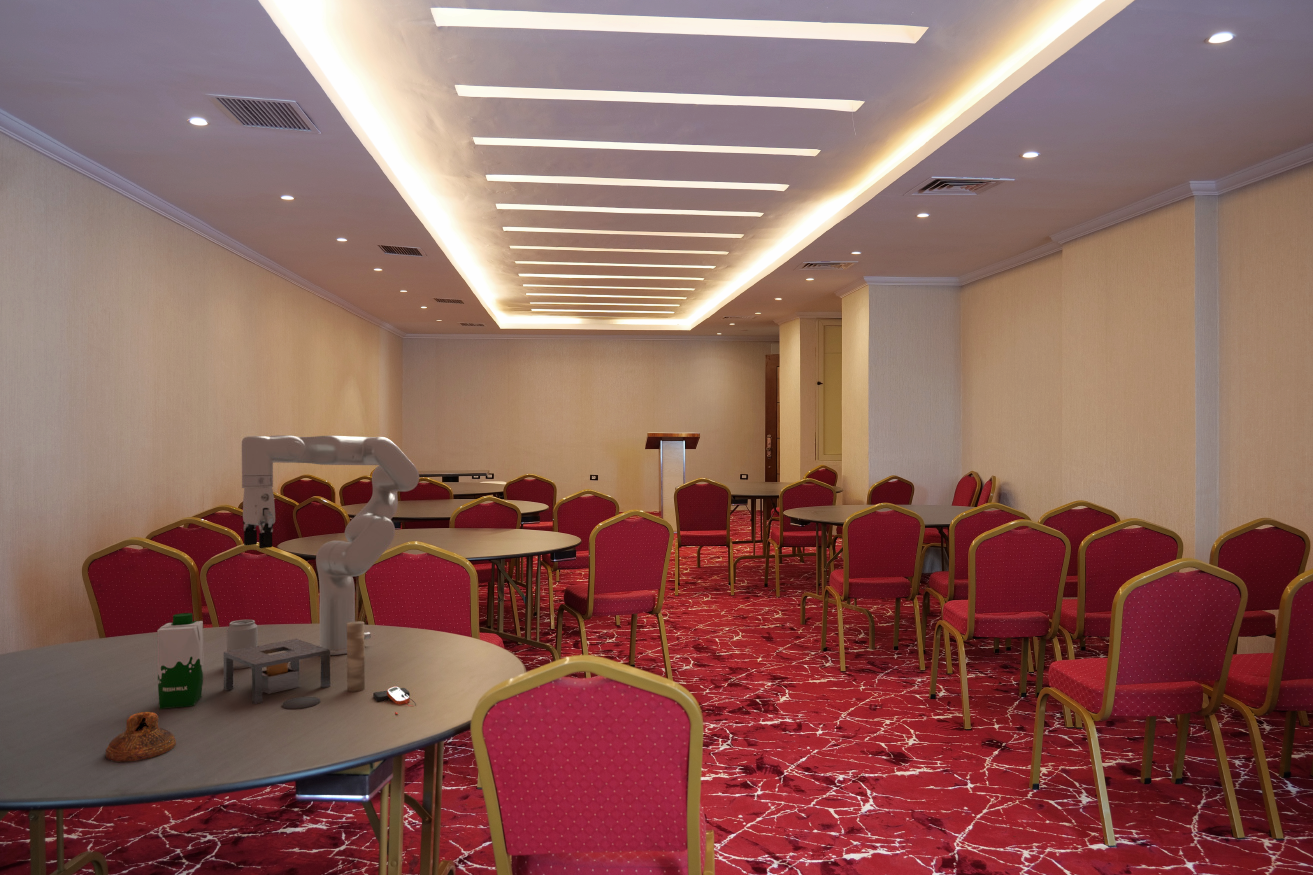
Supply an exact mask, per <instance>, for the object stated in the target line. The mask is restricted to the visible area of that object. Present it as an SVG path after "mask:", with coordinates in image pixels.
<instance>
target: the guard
mask: <svg viewBox="0 0 1313 875" xmlns="http://www.w3.org/2000/svg"><path fill="white" fill-rule="evenodd" d="M283 651H284V652H283ZM278 652H280V653H278ZM273 653H275V654H273ZM316 657H320V687H321V688H323V689H325V688H329V687H331V655H330V650H329V649H326V648H323V647H320V646H318V645H317V644H314V643H310V642H308V641H305V640H302V639H298V638H293V639H287V640H282V641H277V642H273V643H272V642H271V643H266V644H260V645H258V646H254V647H249V648H243V649H238V650H232V651H227V650H226V651H223V690H225V691H229V690H233V689H234V669H233V660H234V661H237V662H239V663H242V664H244V665H247V666H249V667H248V668H251V693H252V694H251V697H252V698H251V700H252V704H255V705H256V704H261V703H263V693H264V694H265V693H266V694H267V695H270V694H275V693H279V692H284V691H287V690H293V689H296V688H299V687H300V661H301V660H306V659H311V658H316ZM287 662H288V663H290V666H288V672H287V673H282V674H278V675H273V676H269V675H266V669H263V668H266V667H267V666H272V665H277V664H282V663H287Z"/></svg>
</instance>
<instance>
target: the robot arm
mask: <svg viewBox="0 0 1313 875" xmlns="http://www.w3.org/2000/svg"><path fill="white" fill-rule="evenodd" d="M274 463H279V464H281V463H283V464H286V463H287V464H290V463H295V464H314V465H322V466H323V465H324V466H376V467H375V469H374V470H373V471H372V475H371V484H372V495H371V498H370V500H369V501H368V502H367V503H366V504H365V505H364V507H362V509H361V510H360V511H359V512H357V514H355V516H354V517H353V518H352V519H351V520H350V521H349V522H348V523H347V525H346V527H345V530H344V537H345V540H346V541H345V540H331V541H327V542H325V543H324V544H322V545H321V546H320V547H319V549H318V550H317V553H316V558H315V562H316V570H317V574H318V580H319V581H318V583H319V645H317V646H320V647H323V648H326V649H329V650H330V656H335V655H336V656H337V655H345V654H346V655H347V623H349V622H356V606H355V604H356V602H355V601H356V600H355V599H356V598H355V597H356V590H355V589H356V588H355V581H354V578H353V577H359V576H361V575H363V574H365V573H366V572H367V571H369V570H370V569H371V568H372V566H373V565H374V564H375V563H376V562H377V561H378V560H379V558H381V556H382V555H383V554H384V553H385V552H386V551H387V549H389V547H390V546H391V544H392V542H393V541H394V538H395V534H396V528H395V524H394V522H393V521H392V519H393V517H394V516H395V515H396V513H397V511H398V505H399V504H398V502H399V500H398V492H409V491H412V490H414V489H415V488H416V487H417V486H418V484H419V481H420V473H419V470H418V468H417V467H416V465H415V464H414V463H413V462H412V461H411V460H410V458H408V456H407V455H406V454H405V453H404V452H403V451H402V450H401V449H400V447H399V446H398V445H397V444H395V443H394V442H393V441H392V440H391V439H389V438H387V437H385V436H349V435H317V436H295V435H287V434H284V435H283V434H282V435H281V434H280V435H279V434H278V435H270V436H265V435H251V436H249V435H248V436H245V437H243V438H242V440H241V488H242V489H244V490H243V498H242V499H243V500H242V519H243V521H242V524H243V528H242V529H243V544H244V546H256V545H257V544H258V548H259V549H269V548H272V547H273V532H274V528H273V527H274V524H275V522H276V509H275V507H276V506H275V497H274V496H275V495H274V491H273V490H274V489H273V488H274ZM257 526H258V528H259V531H260V532H259V533H258V530H257V529H256V528H257ZM371 637H372V635H371V632H370V631H367V632H364V641H365V640H370V639H371Z"/></svg>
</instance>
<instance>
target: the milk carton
mask: <svg viewBox="0 0 1313 875" xmlns="http://www.w3.org/2000/svg"><path fill="white" fill-rule="evenodd" d="M203 623H204V622H203V620H198V621H197V620H194V621H193V613H192V612H182V613H176V614H173V615H172V622H167V623H165V624H164V625H162V626H160V627H159V628H158V629H157V688H158V689H157V690H158V705H159V710H161V709H171V708H172V709H173V708H184V707H194V706H195V705H196V703H198V701H199V700H200V699H202V694H203V683H204V624H203Z"/></svg>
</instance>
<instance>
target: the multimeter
mask: <svg viewBox="0 0 1313 875" xmlns="http://www.w3.org/2000/svg"><path fill="white" fill-rule="evenodd" d="M372 694H373V695H372V697H373V699H374V700H375V702H377V703H381V702H387V701H392V702H393V703H394V704H396V705H399V706H401V705H405V704H406V705H407V706H409V707H412V705H411V704H408V703H410V701H412V702H413V703H414V707H415V706H416V707H417V703H416V702H415V701H414V700H413V699H411V695H410V691H409V690H408V689H407V688H405V687H398V686H397V685H396V686H395V685H394V686H392V687H389V688H388V689H386V690H382V691H374V692H373V693H372ZM409 696H410V697H409ZM394 714H395V715H398V716H399V713H398V712H397V711H394Z"/></svg>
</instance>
